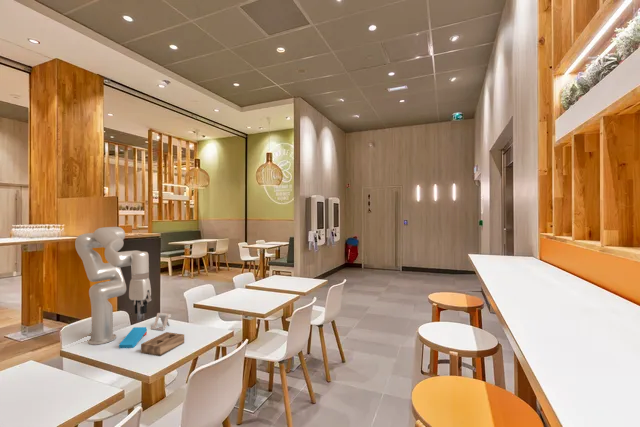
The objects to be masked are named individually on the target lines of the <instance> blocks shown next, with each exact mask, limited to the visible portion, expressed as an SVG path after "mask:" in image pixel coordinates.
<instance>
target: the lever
mask: <svg viewBox="0 0 640 427" xmlns="http://www.w3.org/2000/svg"><path fill="white" fill-rule="evenodd" d="M147 331H148V330H147V326H141V327H140V326H135V327H132V329H131V330H130V331H129V333H128V334H126V336H125V337H124V338H123V339H122V340H121V341H120V343H119V344H118V348H119V349H133V348H135V346H136V345H137V344H138V343H139V342H140V340H141V339H142V338H143V337H145V336H147Z"/></svg>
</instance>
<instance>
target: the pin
mask: <svg viewBox="0 0 640 427" xmlns="http://www.w3.org/2000/svg"><path fill="white" fill-rule="evenodd" d="M140 306H141V301H139V300H137V314H136V315H137V318H136V319H137V322H143V321H145V313H144V314H140Z"/></svg>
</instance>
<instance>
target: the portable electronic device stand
mask: <svg viewBox="0 0 640 427" xmlns="http://www.w3.org/2000/svg"><path fill="white" fill-rule="evenodd" d="M171 317H172V313H166V312H165V313H163V312H157V313H156V316H155V319H154V323H153V325H151V326H150V330H153V331H155V330H156V331H163V332H164V331H165V330H166V327H170V326H171V325H170V323H169V319H170V318H171ZM159 318H160V321H161V323H162V326H158V327H157V325H158V322H159Z"/></svg>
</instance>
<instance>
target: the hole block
mask: <svg viewBox="0 0 640 427" xmlns="http://www.w3.org/2000/svg"><path fill="white" fill-rule="evenodd" d="M183 344H185V334H182V333H176V332H170V331H169V332H167V331H165V332H163V333H161V334H159V335H157V336H155V337H152V338H151V339H149V340H146V341H145V342H143V343H141V344H140V352H141V354H144V355H151V356H157V357H162V356H164V355H165V354H167V353H169V352H171V351H173V350H174V349H176V348H178V347H180V346H181V345H183Z"/></svg>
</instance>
